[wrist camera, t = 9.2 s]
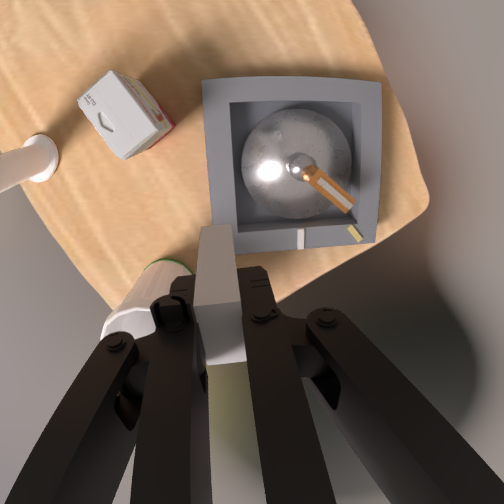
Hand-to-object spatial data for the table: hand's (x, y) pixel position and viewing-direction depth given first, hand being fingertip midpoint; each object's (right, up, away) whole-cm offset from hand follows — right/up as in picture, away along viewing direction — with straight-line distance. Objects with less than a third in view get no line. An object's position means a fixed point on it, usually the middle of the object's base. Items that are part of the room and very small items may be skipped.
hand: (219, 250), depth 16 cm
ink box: (-12, +18, +20) cm, 30 cm away
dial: (+7, +12, +23) cm, 27 cm away
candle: (-29, +14, +20) cm, 38 cm away
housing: (+7, +12, +25) cm, 28 cm away
